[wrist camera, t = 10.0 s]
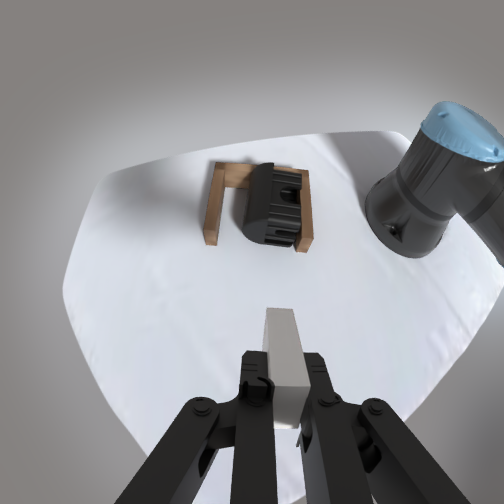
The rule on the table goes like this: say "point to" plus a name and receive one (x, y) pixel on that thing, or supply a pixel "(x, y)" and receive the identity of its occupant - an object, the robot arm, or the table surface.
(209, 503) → the table surface
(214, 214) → the corral
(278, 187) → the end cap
